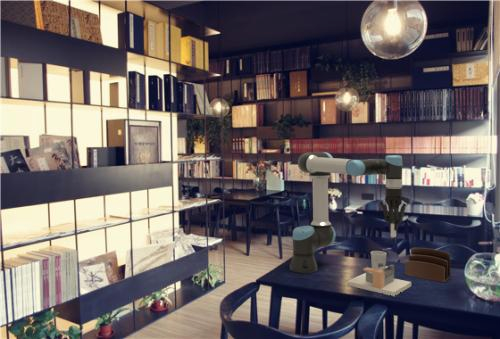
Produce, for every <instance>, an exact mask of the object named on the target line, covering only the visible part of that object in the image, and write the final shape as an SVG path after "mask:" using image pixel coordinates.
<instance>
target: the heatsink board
mask: <svg viewBox="0 0 500 339" xmlns="http://www.w3.org/2000/svg"><path fill="white" fill-rule="evenodd" d="M382 266H383V263H378V268H379V267H382ZM374 269H376V268H374ZM384 271H385V287H383V288H381V289H379V288H375V287H373V274H371V273H369V272H368V271H365V273H362V274H360V275H357V276H356V277H353V278H351V279H349V280H347V281H346V285H347V286H348V287H353V288H358V289H361V290H367V291H370V292H375V293H378V294H382V293H383V295H387V296H390V295H391V297H396V296H397V295H399V294H400V292H401V293H403V292H404V291H405V290H408V289H409V288H411V287H412V282H411V281H408V280H405V279H404V280H403V279H398V278H395V264H390V265H389V269H387V270H384ZM395 295H396V296H395Z"/></svg>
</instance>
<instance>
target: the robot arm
mask: <svg viewBox="0 0 500 339" xmlns="http://www.w3.org/2000/svg"><path fill="white" fill-rule="evenodd" d="M403 166H404V164H403V157H402V155H395V154H393V155H386V156H385V159H381V158H369V159H351V158H350V159H349V158H335V157H333V156H332V155H331V154H330V153H329V152H326V151H325V152H324V151H314V152H312V151H311V152H305V153H302V154H301V155H300V156H299V157H298V160H297V167H298V169H299V170H300V171H301V172H303V173H304V174H309V177H310V178H311V179H312V208H313V209H312V217H313V219H312V221H311V223H310V225H301V226H297V227H296V228H294V229H293V230H292V257H291V260H290V262H289V270H290V271H292V272H294V273H298V274H299V273H300V274H310V273H311V274H312V273H315V272H317V271H318V264H317V260H316V258H315V249H321V248H326V247H328V246H332V244H334V242H335V241H336V236H337V235H336V230H335V228H334V227H333V226H332V223H331V222H330V221H329V220H330V219H329V178H330V177H331V174H338V175H339V174H341V175H349V176H351V177H353V176H354V177H360V176H372V175H373V176H374V175H375V176H376V175H378V176H379V175H383V176H385V187H386V188H385V192H384V195H385V198H384V200H382V201H379V204H380V205H381V209H382V212H383V218H384V221H385V222H387V223H388V230H389V231H390V238H396V237H397V231H398V229H399V224H400V223H402V222H403V221H404V220H403V219H404V216H405V211H406V209H407V207H408V204H409V203H407V202H405V201H404V199H403V189H402V188H403Z"/></svg>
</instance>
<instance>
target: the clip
mask: <svg viewBox="0 0 500 339" xmlns="http://www.w3.org/2000/svg"><path fill="white" fill-rule="evenodd" d="M362 270H363V271H364V272H366V271H368V272H373V287H375V288H379V289H381V288H383V287H385V271H384V270H379V269H373V268H372V267H368V266H367V267H364V268H363V269H362Z"/></svg>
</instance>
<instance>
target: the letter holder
mask: <svg viewBox="0 0 500 339" xmlns="http://www.w3.org/2000/svg"><path fill="white" fill-rule="evenodd" d="M404 265H405V267H404V269H405V270H404V274H405V276H406V277H413V278H418V279H423V280H429V281H434V282H440V283H446V282H447V281H448V280H450V279H451V253H449V252H447V251H444V250H438V249H434V248H428V247H412V248H411V254H408V260H406V261H405V263H404Z"/></svg>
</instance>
